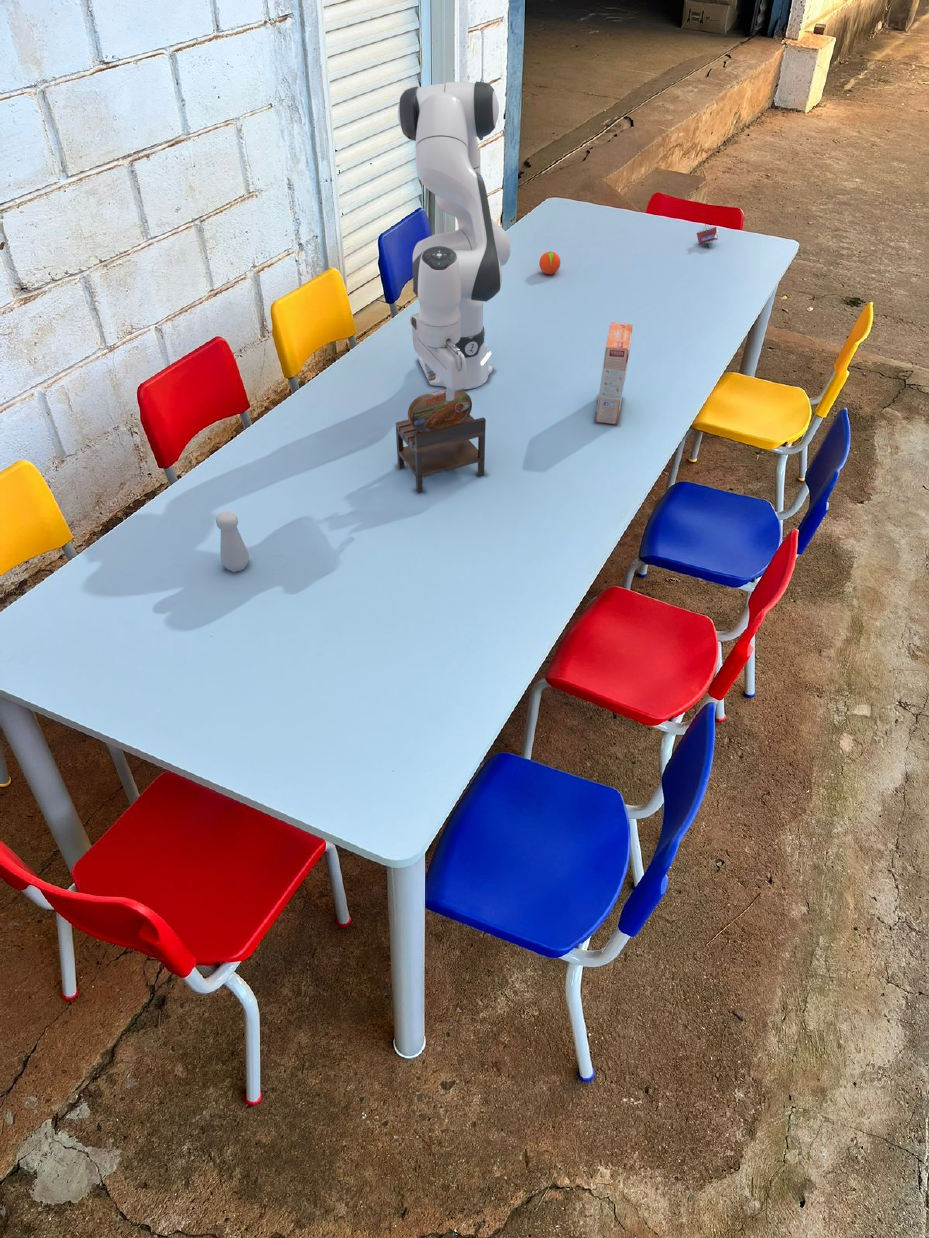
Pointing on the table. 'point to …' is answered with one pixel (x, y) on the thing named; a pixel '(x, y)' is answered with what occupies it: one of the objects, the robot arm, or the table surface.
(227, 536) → the salt shaker
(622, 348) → the cracker box
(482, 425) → the rack
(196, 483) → the table surface
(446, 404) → the tin
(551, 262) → the clementine
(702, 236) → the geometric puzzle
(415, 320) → the robot arm
